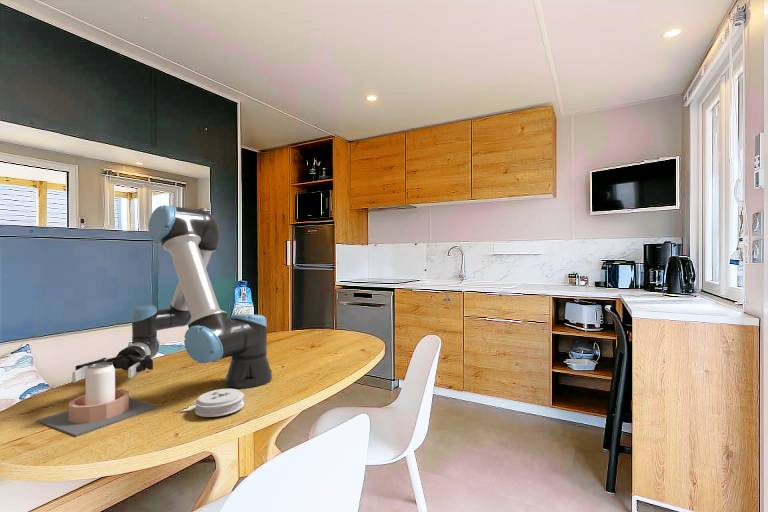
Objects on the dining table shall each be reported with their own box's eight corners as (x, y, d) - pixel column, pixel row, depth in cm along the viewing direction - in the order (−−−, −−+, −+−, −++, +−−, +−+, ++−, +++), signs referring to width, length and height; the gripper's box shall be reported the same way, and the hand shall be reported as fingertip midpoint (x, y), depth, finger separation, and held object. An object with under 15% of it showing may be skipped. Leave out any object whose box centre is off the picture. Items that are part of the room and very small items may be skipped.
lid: (193, 424, 96) (193, 404, 96) (196, 406, 108) (196, 389, 108) (245, 415, 101) (245, 396, 101) (243, 399, 113) (242, 382, 113)
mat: (158, 406, 107) (158, 405, 107) (76, 436, 89) (76, 435, 89) (118, 396, 116) (118, 395, 116) (36, 421, 98) (36, 420, 98)
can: (120, 405, 105) (120, 362, 105) (96, 414, 98) (96, 369, 99) (104, 403, 107) (104, 361, 107) (79, 411, 101) (79, 367, 101)
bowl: (138, 407, 105) (138, 393, 105) (85, 426, 94) (85, 410, 94) (112, 400, 111) (112, 387, 111) (59, 417, 100) (59, 402, 100)
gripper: (174, 364, 128) (152, 384, 107) (90, 370, 122) (49, 393, 101) (174, 342, 128) (152, 358, 108) (90, 347, 122) (49, 365, 102)
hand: (102, 375), depth 104 cm, fingers open, 13 cm apart
